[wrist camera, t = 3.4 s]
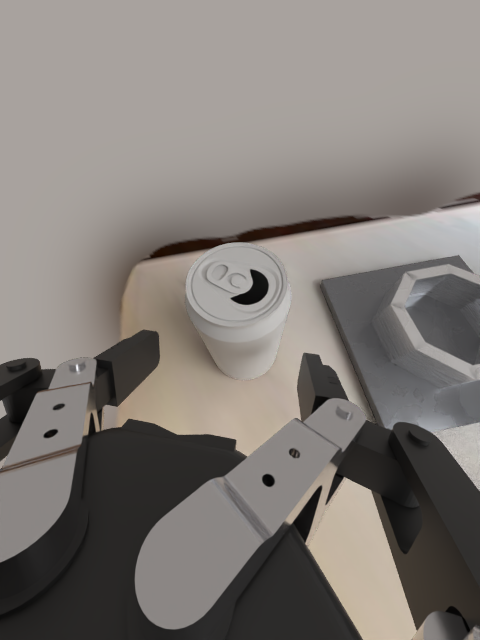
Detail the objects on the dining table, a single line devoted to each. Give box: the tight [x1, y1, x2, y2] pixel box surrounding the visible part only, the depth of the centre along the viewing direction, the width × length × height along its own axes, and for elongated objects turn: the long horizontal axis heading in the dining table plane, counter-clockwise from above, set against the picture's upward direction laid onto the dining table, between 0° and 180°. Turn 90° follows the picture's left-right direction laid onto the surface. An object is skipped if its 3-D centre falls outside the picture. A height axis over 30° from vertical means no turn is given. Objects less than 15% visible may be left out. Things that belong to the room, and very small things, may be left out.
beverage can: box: [185, 242, 292, 380], centre depth 18 cm, size 6×6×12 cm
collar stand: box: [320, 255, 480, 432], centre depth 20 cm, size 16×16×4 cm
